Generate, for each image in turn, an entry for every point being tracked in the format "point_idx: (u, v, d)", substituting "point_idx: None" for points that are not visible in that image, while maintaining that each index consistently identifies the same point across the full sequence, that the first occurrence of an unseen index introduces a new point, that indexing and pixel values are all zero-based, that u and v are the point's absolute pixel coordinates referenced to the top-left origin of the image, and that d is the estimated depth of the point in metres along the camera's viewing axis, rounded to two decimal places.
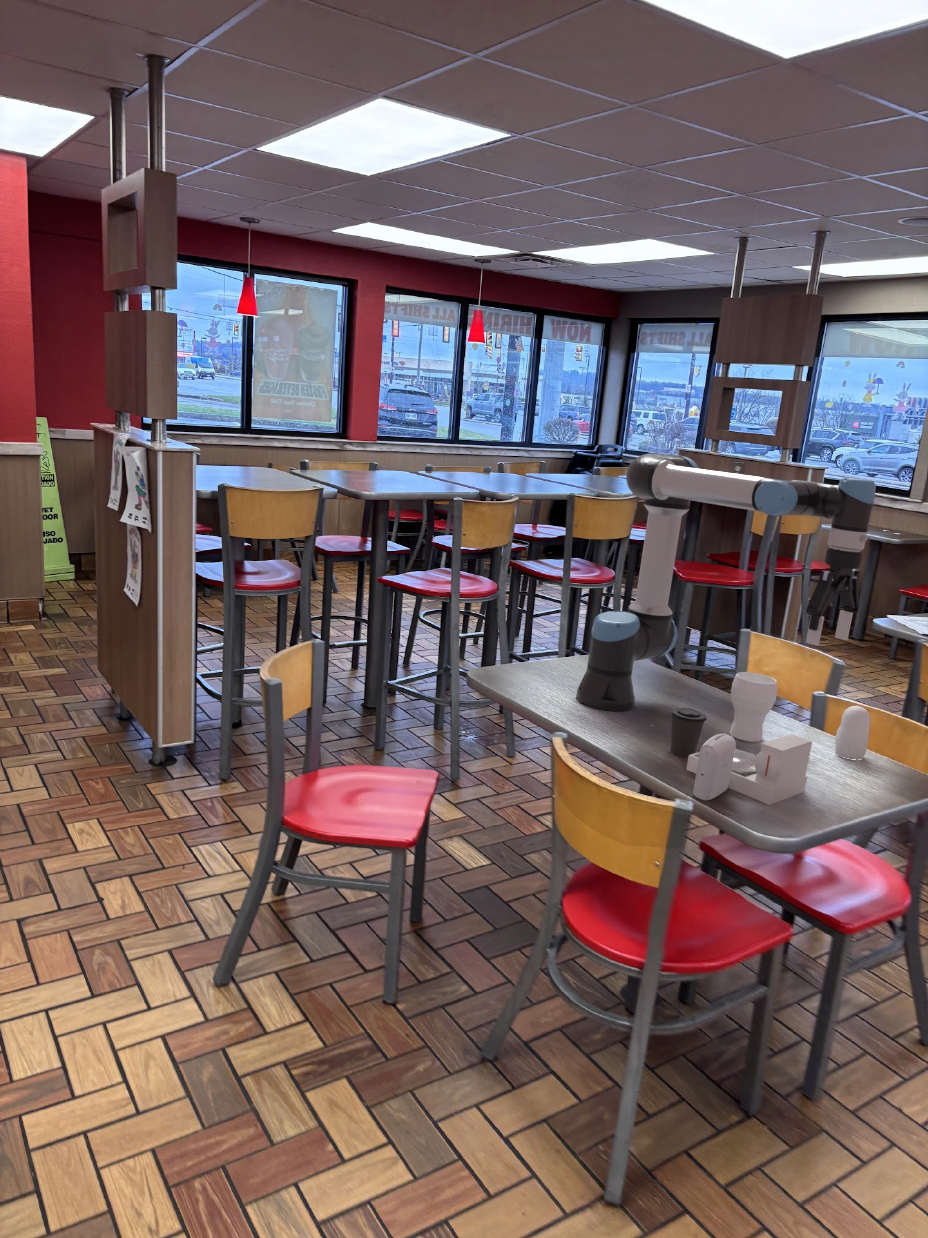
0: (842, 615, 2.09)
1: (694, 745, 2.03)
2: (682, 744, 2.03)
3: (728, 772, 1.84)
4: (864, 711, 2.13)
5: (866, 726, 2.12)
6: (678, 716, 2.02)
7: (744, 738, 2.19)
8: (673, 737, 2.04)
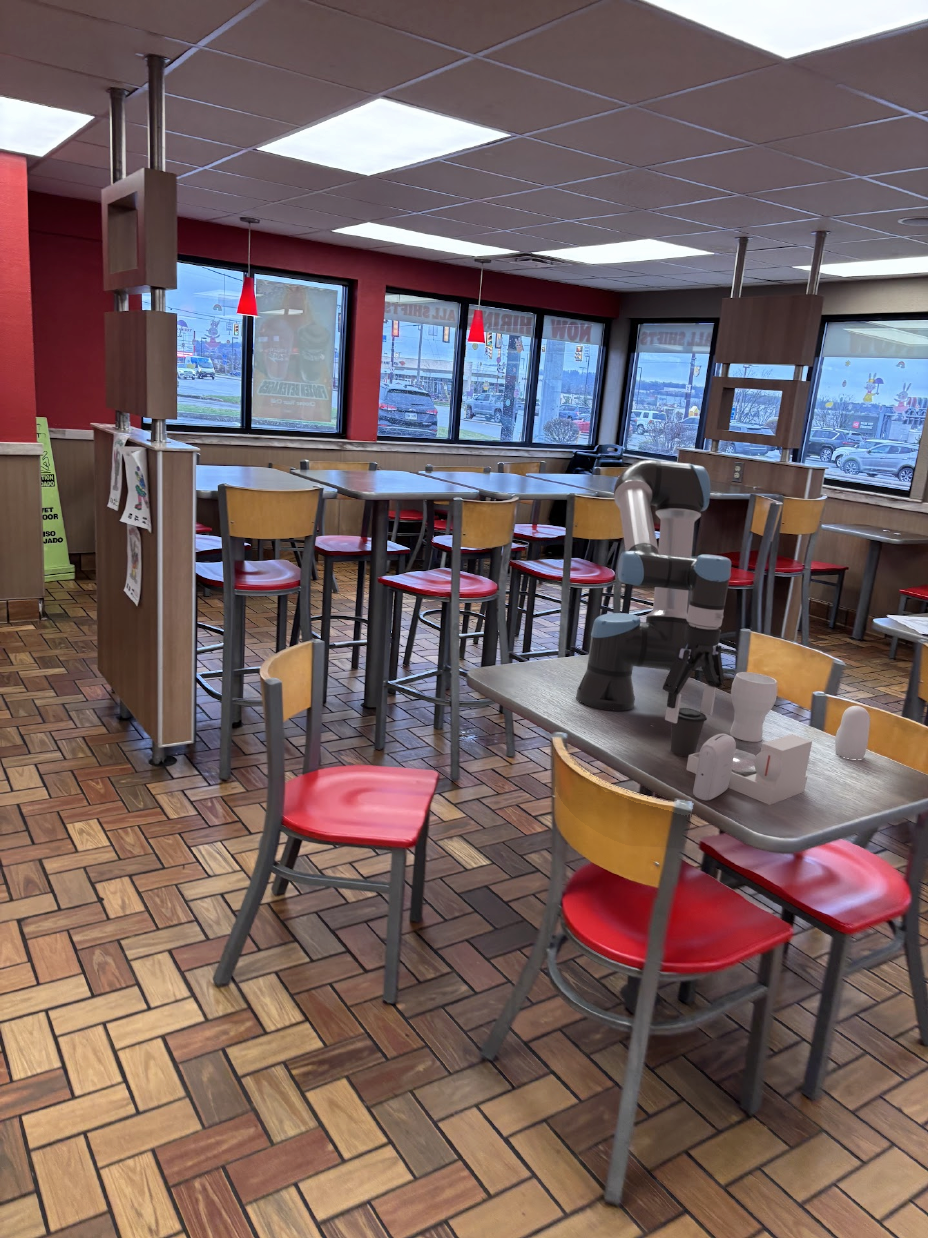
0: (706, 690, 2.08)
1: (694, 745, 2.03)
2: (682, 744, 2.03)
3: (728, 772, 1.84)
4: (864, 711, 2.13)
5: (866, 726, 2.12)
6: (678, 716, 2.02)
7: (744, 738, 2.19)
8: (673, 737, 2.04)
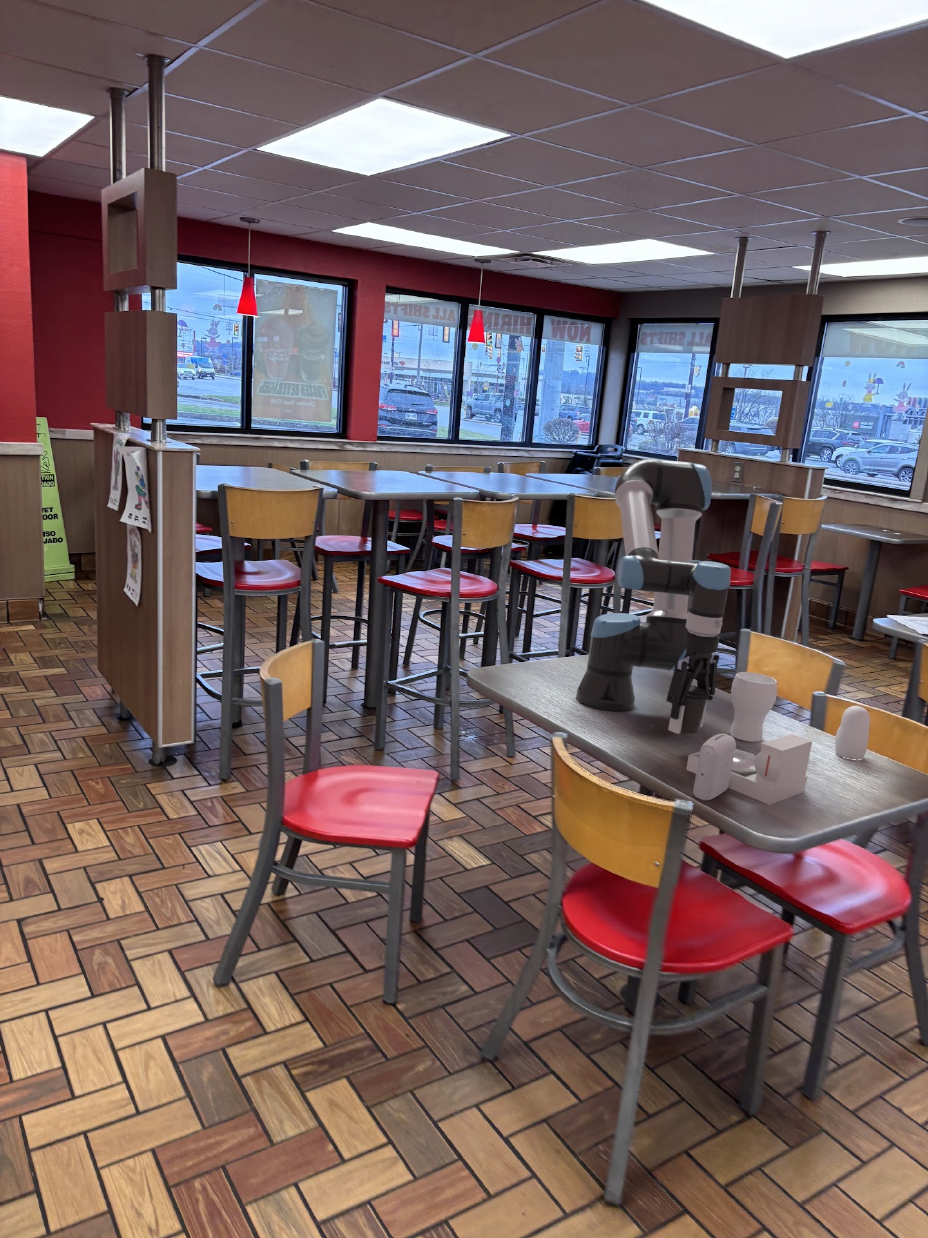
0: None
1: (696, 723, 2.03)
2: (685, 721, 2.03)
3: (728, 772, 1.84)
4: (864, 711, 2.13)
5: (866, 726, 2.12)
6: None
7: (744, 738, 2.19)
8: None
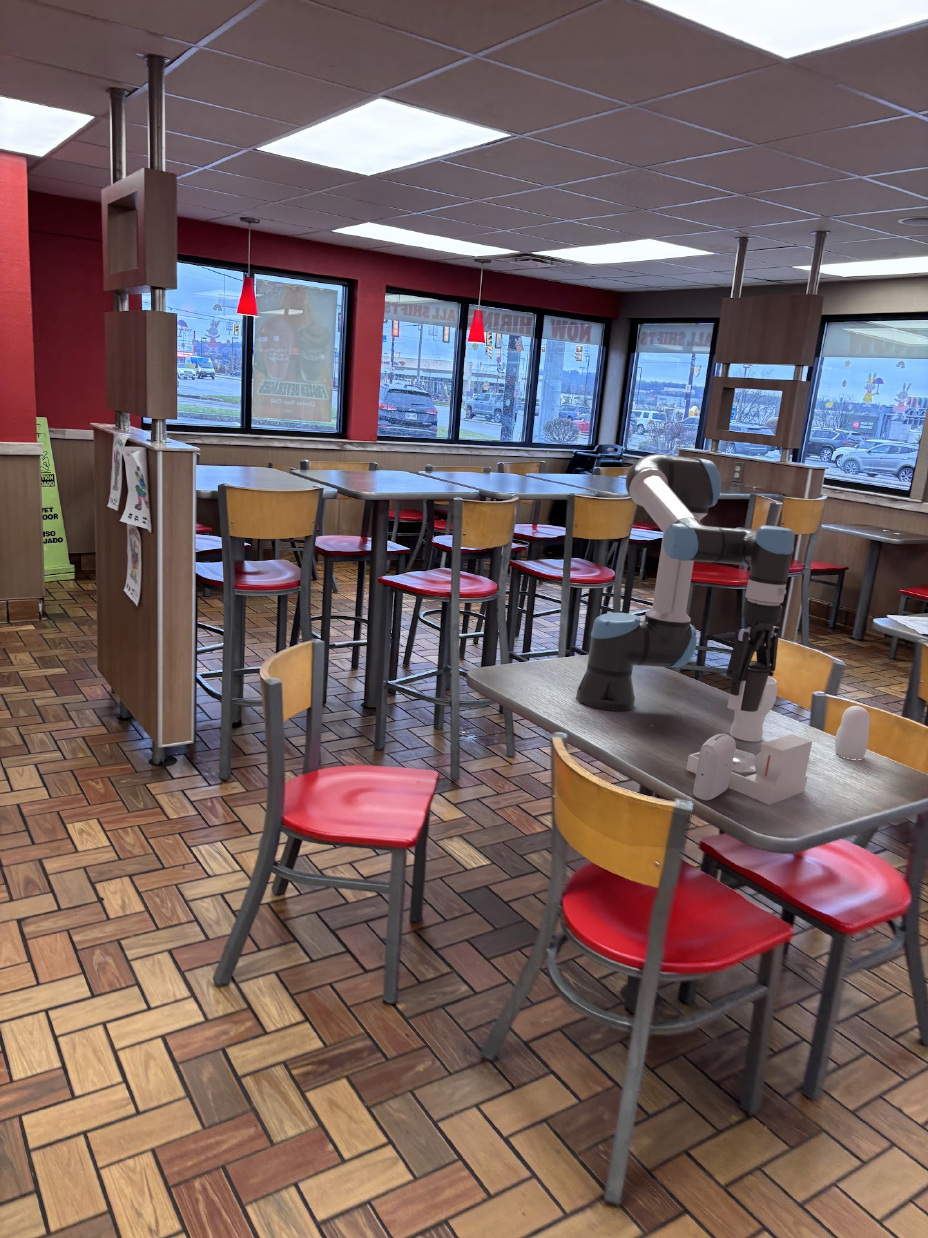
0: None
1: (758, 699, 1.89)
2: (745, 697, 1.88)
3: (728, 772, 1.84)
4: (864, 711, 2.13)
5: (866, 726, 2.12)
6: None
7: (744, 738, 2.19)
8: None
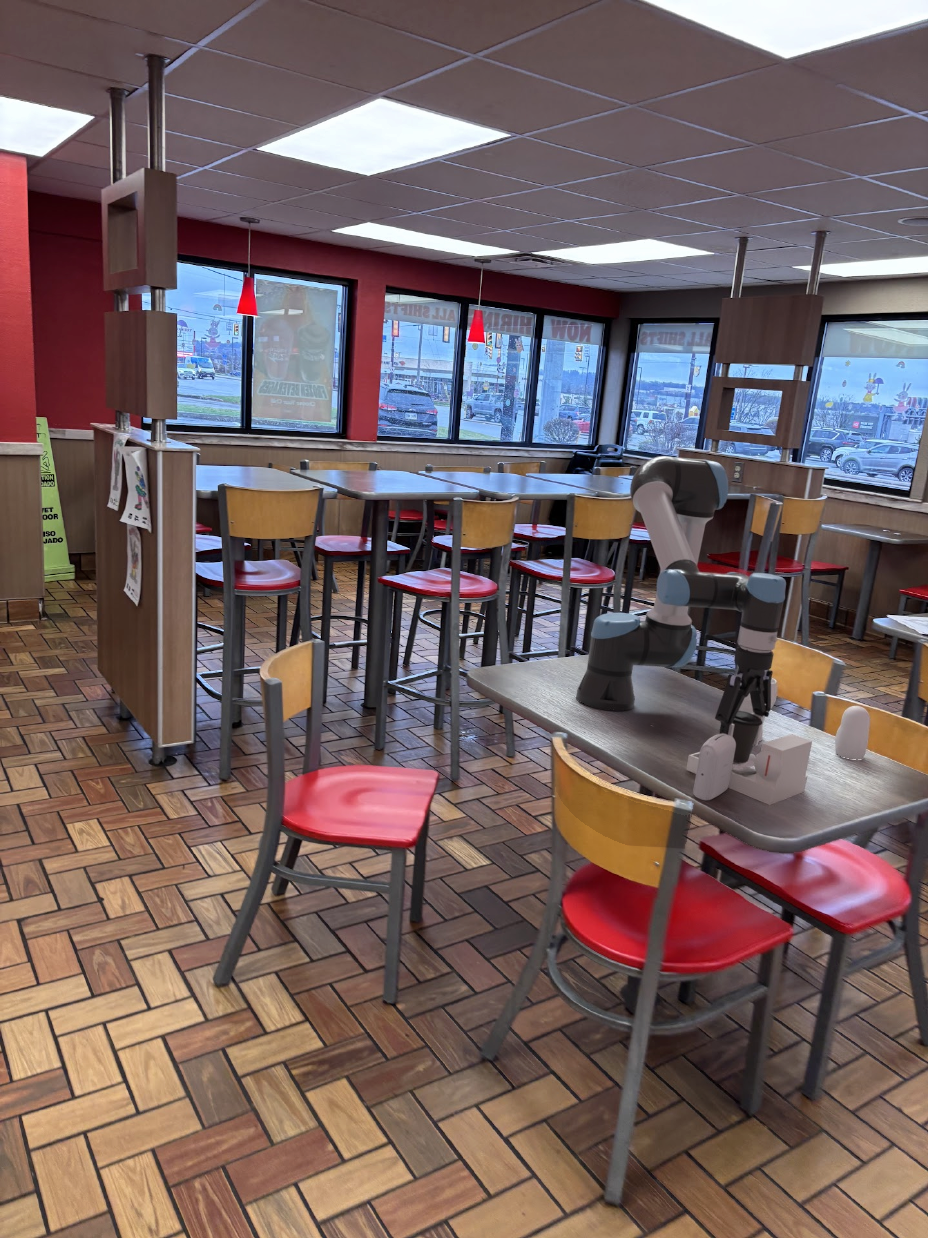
0: None
1: (748, 751, 1.92)
2: (736, 749, 1.91)
3: (728, 772, 1.84)
4: (864, 711, 2.13)
5: (866, 726, 2.12)
6: None
7: None
8: None
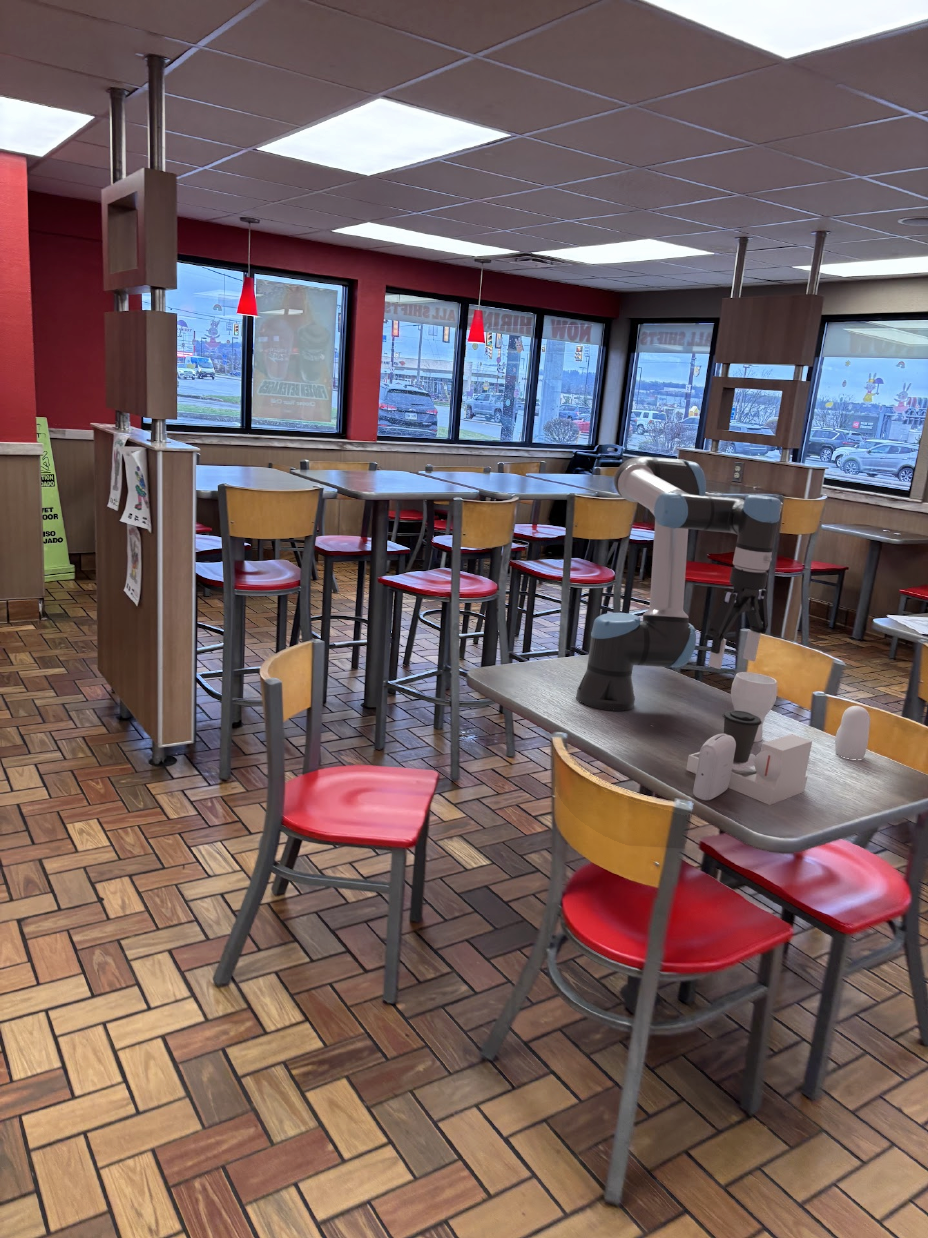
0: (750, 636, 2.02)
1: (748, 751, 1.92)
2: (736, 749, 1.91)
3: (728, 772, 1.84)
4: (864, 711, 2.13)
5: (866, 726, 2.12)
6: (732, 719, 1.90)
7: None
8: None
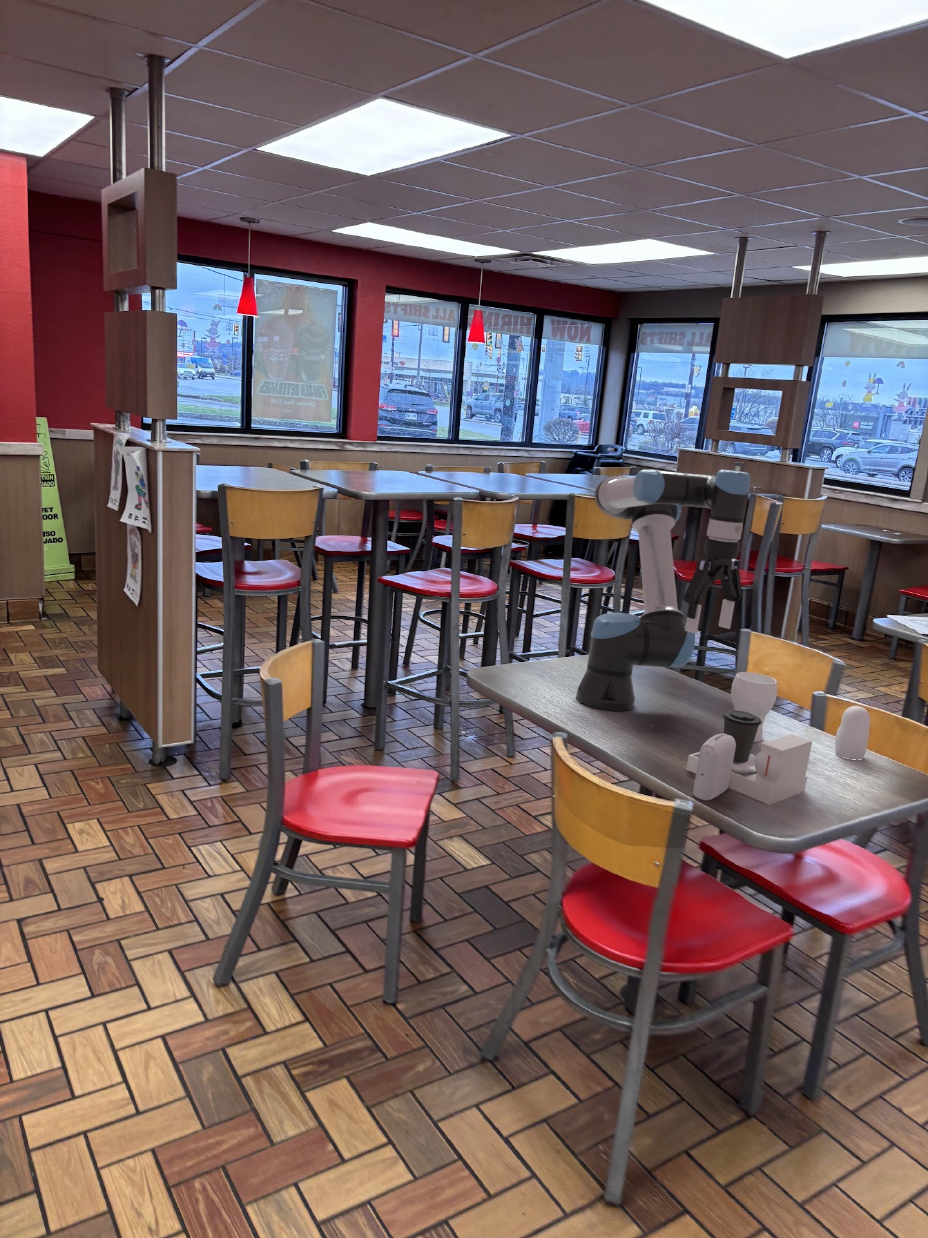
0: (725, 604, 2.14)
1: (748, 751, 1.92)
2: (736, 749, 1.91)
3: (728, 772, 1.84)
4: (864, 711, 2.13)
5: (866, 726, 2.12)
6: (731, 719, 1.90)
7: None
8: None
